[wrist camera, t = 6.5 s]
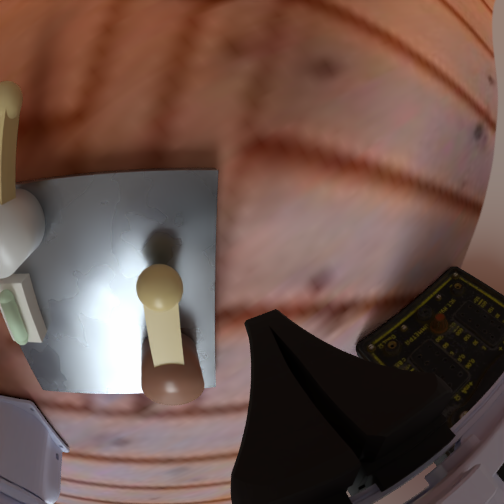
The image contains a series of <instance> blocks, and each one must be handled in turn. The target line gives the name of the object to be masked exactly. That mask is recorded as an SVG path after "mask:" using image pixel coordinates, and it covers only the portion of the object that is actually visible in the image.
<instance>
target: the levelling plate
mask: <svg viewBox="0 0 504 504" xmlns="http://www.w3.org/2000/svg"><path fill="white" fill-rule="evenodd" d="M15 188H16V189H17V188H19V189H24V190H27V191H29V192H30V193H31V194H33V195H34V196H35V197H36V199H37V200H38V201H39V203H40V205H41V207H42V210H43V213H44V217H45V232H44V236H43V239H42V241H41V243H40V245H39V246H38V247H37V248H36V249H35V250H34V251H33V252H32V253H31V254H30V256H29V257H28V258H27V259H26V260H25V261H24V262H23V263H22V264H21V265H20V266H19V267H18V269H17V270H16V271H15V272H14V273H13V274H26V273H29V275H30V278H31V282H32V286H33V289H34V293H35V296H36V300H37V303H38V306H39V309H40V312H41V315H42V318H43V321H44V324H45V326H46V329H47V332H46V335H45V337H44V339H43V342H42V343H38V342H27V343H26V344H25V345H20V347H21V349H22V351H23V353H24V355H25V357H26V359H27V361H28V363H29V365H30V367H31V369H32V371H33V373H34V374H35V376H36V378H37V380H38V382H39V383H40V385H41V387H42V389H43V390H48V391H59V392H74V393H100V394H127V393H143V391H142V387H141V348H142V345H143V343H144V341H145V340H146V339H147V338H148V332H147V326H146V320H145V314H144V308H143V304H142V303H141V302H140V300H139V298H138V296H137V292H136V283H137V280H138V277H139V275H140V274H141V272H142V271H143V270H144V269H146V268H147V267H149V266H151V265H154V264H164V265H168V266H170V267H172V268H173V269H174V270H176V271H177V273H178V274H179V275H180V277H181V279H182V282H183V295H182V298H181V300H180V302H179V303H178V305H179V318H180V329H181V333H183V334H185V335H187V336H188V337H189V338H191V339H192V340H193V342H194V343H195V345H196V349H197V353H198V358H199V362H200V366H201V371H202V375H203V379H204V384H205V387H204V388H210V387H216V379H215V250H216V215H217V190H218V170H217V169H215V168H160V169H136V170H119V171H105V172H93V173H83V174H73V175H65V176H57V177H49V178H42V179H35V180H29V181H22V182H17V183H15Z"/></svg>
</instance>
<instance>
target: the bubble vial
mask: <svg viewBox="0 0 504 504" xmlns="http://www.w3.org/2000/svg"><path fill="white" fill-rule="evenodd" d="M0 310H1V312H2V315H3V317H4V320H5V323H6V325H7V327H8V330H9V332H10V334H11V337H12V339H13V341H16V342H17V343H18V344H19V345H25V344H26V343H27V342H38V343H42V342H43V339H44V337H45V335H46V332H47V329H46V326H45V324H44V321H43V318H42V315H41V312H40V309H39V306H38V303H37V300H36V296H35V293H34V289H33V286H32V282H31V278H30V275H29V273H26V274H12V275H10V276H9V277H7V278H0Z"/></svg>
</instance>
